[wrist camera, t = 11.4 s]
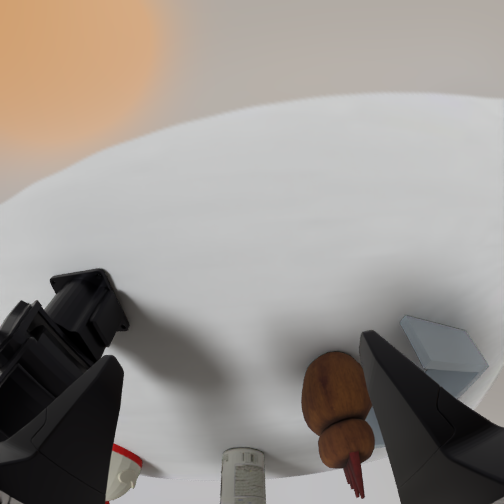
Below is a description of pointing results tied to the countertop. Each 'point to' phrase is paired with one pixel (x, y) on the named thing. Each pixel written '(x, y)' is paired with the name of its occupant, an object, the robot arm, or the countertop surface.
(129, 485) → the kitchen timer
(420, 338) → the cubby
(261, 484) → the spray can
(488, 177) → the countertop surface
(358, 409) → the wooden figurine
